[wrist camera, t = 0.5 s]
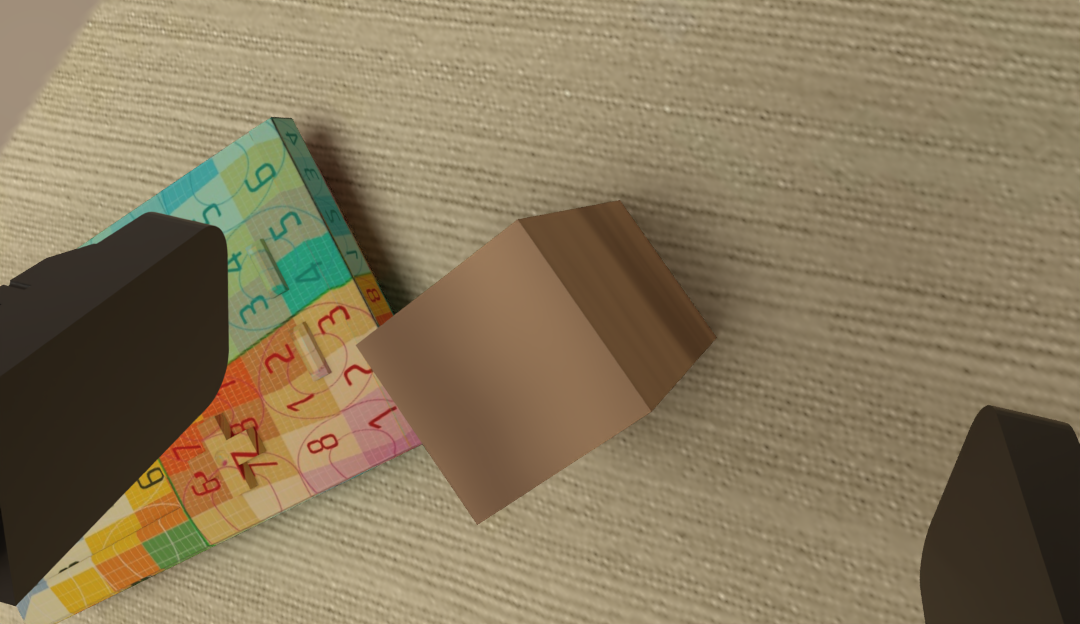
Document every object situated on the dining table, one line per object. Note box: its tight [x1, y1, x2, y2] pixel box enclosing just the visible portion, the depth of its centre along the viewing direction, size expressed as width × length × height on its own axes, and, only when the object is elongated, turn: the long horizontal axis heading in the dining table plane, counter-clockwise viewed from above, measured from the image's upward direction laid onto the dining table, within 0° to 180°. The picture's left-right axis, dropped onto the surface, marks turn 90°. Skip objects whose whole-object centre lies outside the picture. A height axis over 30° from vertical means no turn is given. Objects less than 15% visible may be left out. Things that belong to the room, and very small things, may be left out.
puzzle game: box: [16, 117, 422, 624], centre depth 38 cm, size 12×5×20 cm
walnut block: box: [356, 200, 717, 525], centre depth 29 cm, size 6×6×10 cm
